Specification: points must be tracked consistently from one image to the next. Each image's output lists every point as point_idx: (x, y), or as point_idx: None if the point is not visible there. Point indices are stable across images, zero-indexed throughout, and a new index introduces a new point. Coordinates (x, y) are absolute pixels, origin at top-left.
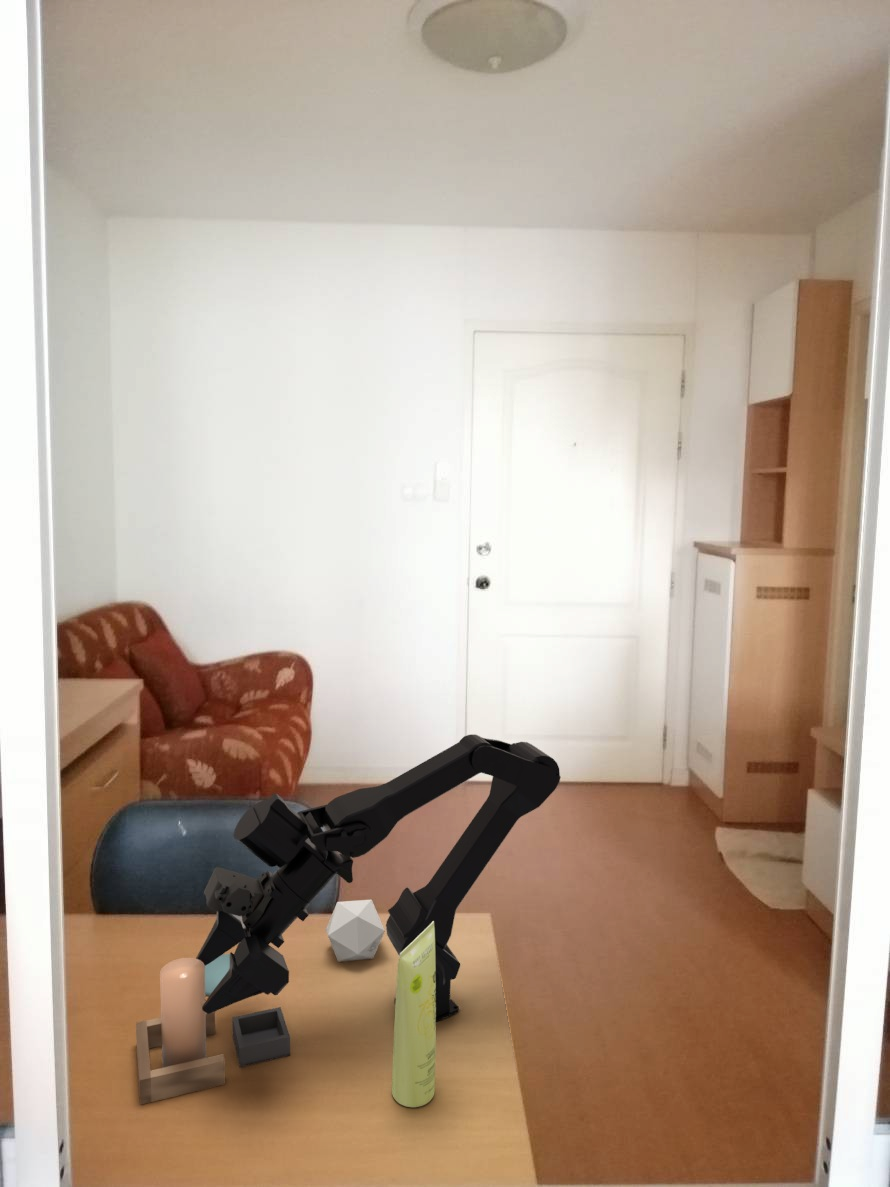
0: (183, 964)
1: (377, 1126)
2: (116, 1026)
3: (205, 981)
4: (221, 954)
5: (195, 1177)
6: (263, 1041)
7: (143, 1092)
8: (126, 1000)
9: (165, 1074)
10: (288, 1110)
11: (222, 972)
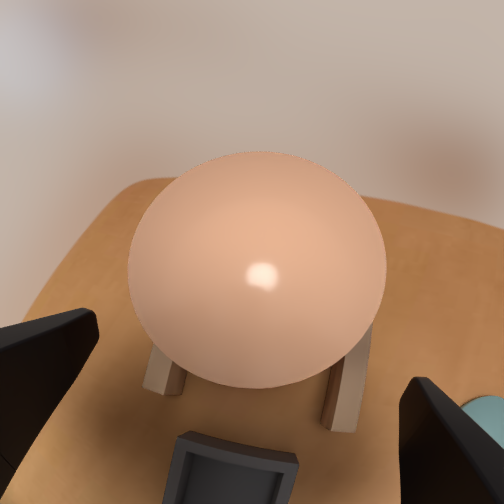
0: (314, 268)
1: None
2: (421, 257)
3: None
4: (401, 499)
5: (49, 278)
6: (169, 483)
7: None
8: (476, 284)
9: None
10: (63, 432)
11: None
